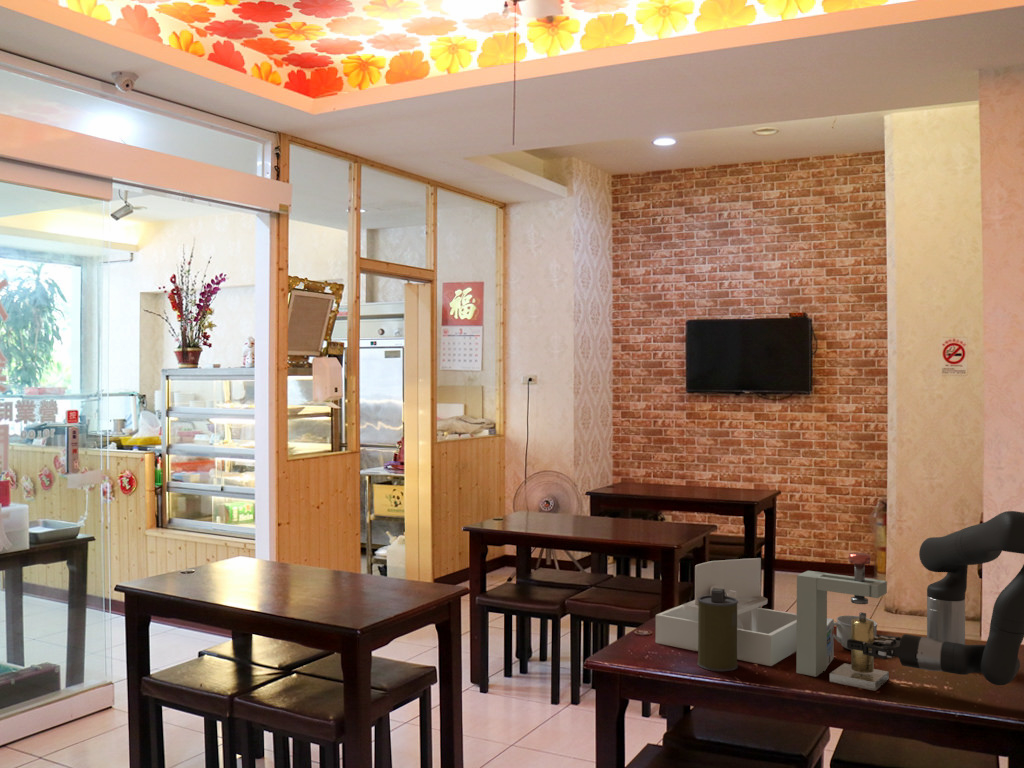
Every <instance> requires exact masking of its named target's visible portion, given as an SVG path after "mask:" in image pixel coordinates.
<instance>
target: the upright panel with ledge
mask: <svg viewBox="0 0 1024 768" xmlns="http://www.w3.org/2000/svg"><path fill="white" fill-rule="evenodd" d="M761 578H762V558H761V557H756V558H755V557H754V558H740V559H739V558H738V559H725V560H711V561H707V562H706V561H705V562H702V563H698V564H696V565H695V566H694V600H695V601H693V600H691V601H692V602H691V601H688V602H685V603H683V604H682V605H683V609H685V610H690V611H696V612H698V603H699V601H698V598H699V597H700V596H706V595H711V591H712V589H713V588H719V589H725V593H726V594H727V595H726V594H725V595H726V596H728V597H732V598H735V599H737V600H738V603H737V628H738V629H744V630H749V631H755V632H758V608H761V607H762V606H763V607H764V606H765V605H767V604H768V598H767V597H765V596H762V591H761V590H762V589H761V588H762V587H761V586H762V584H761V582H762V579H761Z"/></svg>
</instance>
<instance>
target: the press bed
mask: <svg viewBox="0 0 1024 768" xmlns="http://www.w3.org/2000/svg"><path fill="white" fill-rule="evenodd" d="M889 674H890V673H889V671H887V670H883V669H882V670H881V669H878V668H877V669H875V668H874V671H873V672H870V673H863V672H857V671H854V670H852V669H851V663H850V664H849V663H843V664H841V665H840V666H838V667H837V668H835V669H834V670H832V671H831V672H830V673H829V682H830V683H835V684H840V685H845V686H850V687H854V688H860V689H865V690H869V691H872V692H873V691H875V692H876V691H877V690H878V689H879V688H881V687H882V686H883V685H884V684H885V683H886V682H888V681H889V680H888V679H889V677H890V675H889ZM887 680H888V681H887ZM883 683H884V684H883ZM881 685H882V686H881Z"/></svg>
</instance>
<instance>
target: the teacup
mask: <svg viewBox="0 0 1024 768" xmlns="http://www.w3.org/2000/svg"><path fill="white" fill-rule="evenodd" d="M852 619H859V616H857V615H852V614H851V615H849V614H848V615H840V616H837V617H836V621H834V627H835V626H836V634H835V633H834V640H836V641H837V642H838V643H840V644H841V646H842V647H843V648H845V649H847V650H849V651H851V649H849V648H848V647H847V640H849V639H851V633H852ZM866 619H867V620H871V621H873V622H874V636H876V635H877V629H878V627H877V626H878V623H877V621H875V620H874V619H871V618H868V617H866Z"/></svg>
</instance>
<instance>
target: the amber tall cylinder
mask: <svg viewBox="0 0 1024 768" xmlns="http://www.w3.org/2000/svg"><path fill="white" fill-rule="evenodd" d="M858 614H859V619H852V633H851V639H852V640H858V641H863V642H864V641H866V642H873V640H874V622H873V621H874V620H873V621H871V620H872V619H871V620H867V619H866V618H867V612H859V613H858ZM868 650H872V649H871V648H869V647H868ZM850 651H851V652H850V653H851V655H850V657H851V662H850V664H851V669H852V670H854V671H857V672H863V673H870V672H873V671H874V669H875V668H874V667H875V665H874V664H875V661H874V659H875V657H873V656H869V655H864V654H863V651H860V650H854V649H851V650H850Z"/></svg>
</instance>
